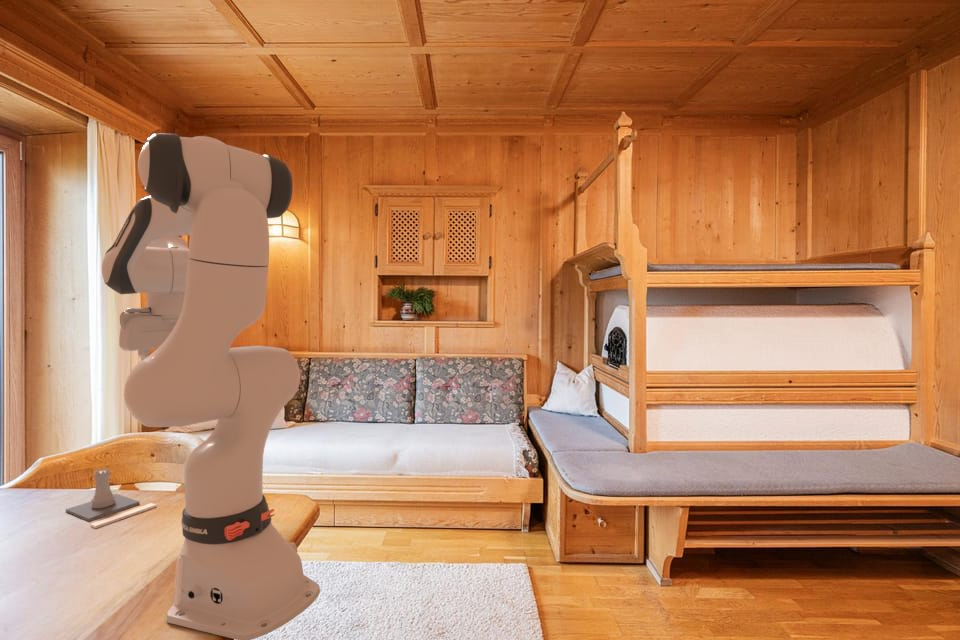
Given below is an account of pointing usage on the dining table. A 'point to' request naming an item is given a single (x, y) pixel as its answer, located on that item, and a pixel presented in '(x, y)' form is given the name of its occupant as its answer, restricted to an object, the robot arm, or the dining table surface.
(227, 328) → the robot arm
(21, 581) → the dining table surface
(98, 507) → the rook chess piece
